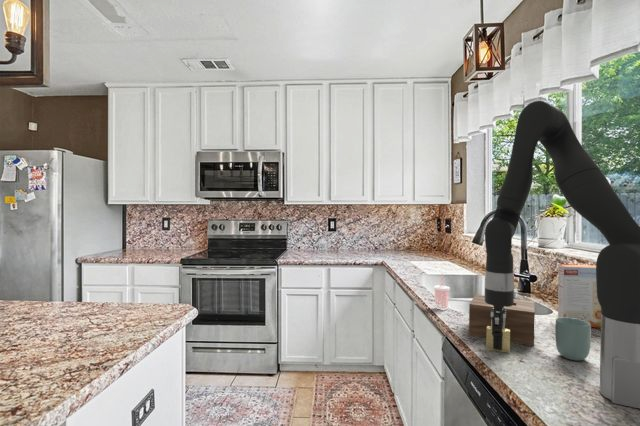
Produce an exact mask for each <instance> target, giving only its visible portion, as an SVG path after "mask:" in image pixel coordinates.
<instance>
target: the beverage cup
mask: <svg viewBox="0 0 640 426" xmlns="http://www.w3.org/2000/svg"><path fill="white" fill-rule="evenodd" d="M443 275H444V274H443V273H442V274H441V276H440V279H441V280H440V282H441V285H438V284H437V285H434V286H433V288H434V302H435V303H434V304H435V305H434V306H435V307H436V308H437V309H448V307H449V296H450V290H451V287H450V286H447V285H443V278H444V277H443ZM437 309H436V310H437Z"/></svg>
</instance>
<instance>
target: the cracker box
mask: <svg viewBox="0 0 640 426" xmlns="http://www.w3.org/2000/svg"><path fill="white" fill-rule="evenodd" d="M557 267H558V268H557V272H558V273H557V274H558V275H557V277H558V278H557V286H558V287H557V291H558V292H557V297H558V298H557V299H558V301H557V318H560V317H569V318H576V319H580V320H584V321H587V322H589V323H590V324H591V328H595V329H596V328H599V329H601V306H600V304H599V301H598V298H597V285H596V265H588V264H587V265H586V264H558V265H557Z"/></svg>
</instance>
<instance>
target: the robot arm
mask: <svg viewBox="0 0 640 426" xmlns="http://www.w3.org/2000/svg"><path fill="white" fill-rule="evenodd" d="M514 132H515V133H514V134H515V135H514V138H513V143H512V148H511V154H510V157H509V162H508V163H509V164H508V168H507V171H506V174H505V178H504V180H503V183H502V185H501V187H500V190H499V194H498V196H497V201H496V208H495V211H494V214H493V217H492V219H490V220H489V221H488V222H487V223H486V226H485V228H484V242H485V243H484V244H485V250H486V251H485V252H486V259H485V277H484V296H485V302H486V303H487V304H490V305H493V306H494V309H493V308H492V310H491V326H492V335H493V348H494V349H496V350H502V337H503V329H504V328H505V324H506V315H507V310H505V308H504V306H506V307H509V306H512V305H513V304H514V299H515V296H514V295H515V279H514V256H513V253H512V248H513V247H512V243H513V241H512V238H513V237H514V235H515V233H516V232H517V231H516V230H517V228H518V224H519V222H520V219H521V218H520V217H521V212H522V210H523V209H524V207H525V204H526V203H527V202H526V201H527V199H528V197H529V194H530V191H531V188H532V185H533V176H534V172H533V169H534V168H533V167H534V156H535V151H536V147H537V145H538V142H539V143H540V144H541V145H542V146H543V147H544V149H545V150H546V152H547V153H548V155H549V156H550V158H551V161H552V163H553V172H554V178H555V182H556V184H557V186H558V188H559V190H560V191H561V193H562V195H563V196H564V198H565V201H566V202H567V203H568V204H569V206H571V208H572V209H573V210H574V211H575V212H576V213H578V214H579V215H580V216H581V217H583V219H584V220H586V221H587V222H589V223H590V224H591V225H593V226H594V227H595V228H596V229H597V230H598V232H600V233H601V235H603V237H604V239H605V240H606V242H607V243H608V245H606V246H604V247H603V248H602V249H601V251H599V253H598V255H597V259H596V262H595V266H596V285H597V298H598V301H599V304H600V306H601V328H600V348H599V349H600V357H599V392H600V394H601V395H602V396H604V397H605V398H607V399H608V400H610V401H611V402H612V403H613V404H615V405H621V406H626V407H631V408H634V409H639V410H640V225H639V224H638V222H636V221H635V219H634V217H632V214H630V212H629V211H628V209H627V207H626V206H625V204H624V203H623V202H622V200H621V199H620V197H619V195H618V194H617V193H616V192H615V190H614V188H613V187H612V186H611V183H610V182H609V180H608V179H607V177H606V176H605V174H604V173H603V171H602V170H601V169H600V167H599V166H598V164H597V163H596V162H595V160H594V159H593V158H592V156H591V155H590V154H589V152H587V150H586V149H585V148H584V147H583V145H582V143H581V142H580V140H578V137H577V134H576V133H575V131H574V129H573V128H572V125H571V123H570V121H569V119H568V117H567V115H566V114H565V112H563V110H562V109H560V108H558V107H556V106H555V105H553V104H550V103H549V102H546V101H543V100H535V101H532V102H530V103H529V104H527V105H526V106H525V107H524V108H523V109H522V110H521V112H520V114H519V116H518V119H517V123H516V128H515V131H514ZM495 329H497V330H500V332H496V331H495Z"/></svg>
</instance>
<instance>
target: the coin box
mask: <svg viewBox="0 0 640 426" xmlns="http://www.w3.org/2000/svg"><path fill="white" fill-rule="evenodd" d="M492 308H493V309H494V306H493V305H490V304H487V303H486V302H485V295H484V294H483V295H482V294H474V297H473V298H472V299H471V301H470V302H469V310H468V311H469V312H468V313H469V315H468V335H469V336H470V337H471V336H473V337H479V338H483V339H484V338H485V339H486V335H487V326H491V310H492ZM504 308H505V310H507V315H506V324H505V328H504V329H510V343H514V344H519V345H526V346H533V347H534V346H535V311H536V310H535V301H533V300H524V299H517V298H514V304H513V305H512V306H509V307H506V306H504ZM491 327H492V326H491Z"/></svg>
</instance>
